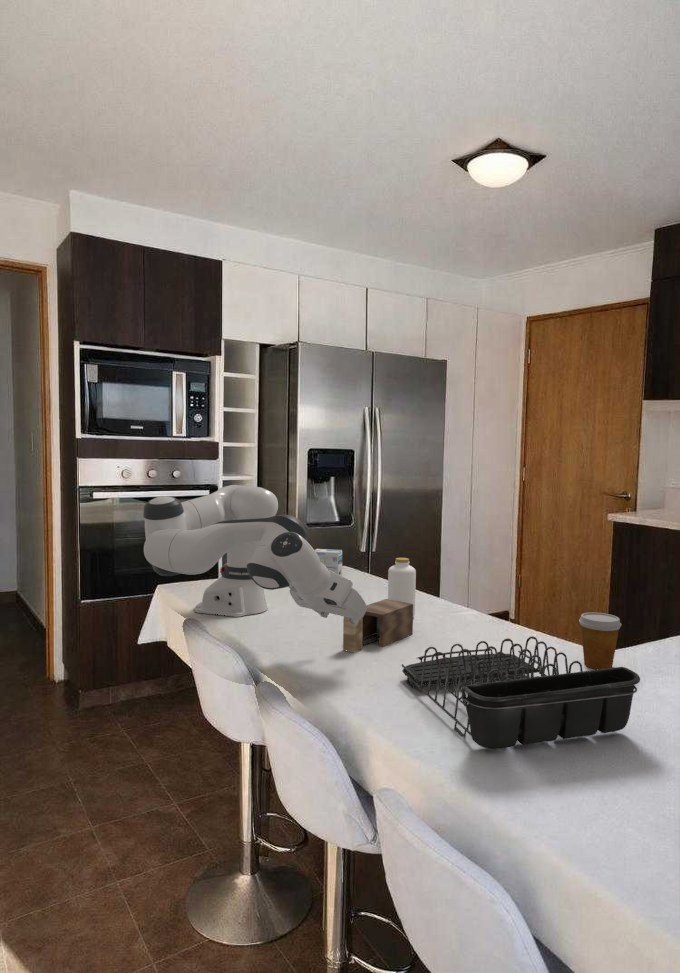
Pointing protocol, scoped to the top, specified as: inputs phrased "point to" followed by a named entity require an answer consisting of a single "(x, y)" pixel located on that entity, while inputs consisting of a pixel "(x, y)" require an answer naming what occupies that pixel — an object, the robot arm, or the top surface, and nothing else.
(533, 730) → the dish rack
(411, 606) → the cubby
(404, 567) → the potion bottle
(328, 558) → the light bulb box
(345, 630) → the tethered block
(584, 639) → the disposable coffee cup
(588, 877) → the top surface
